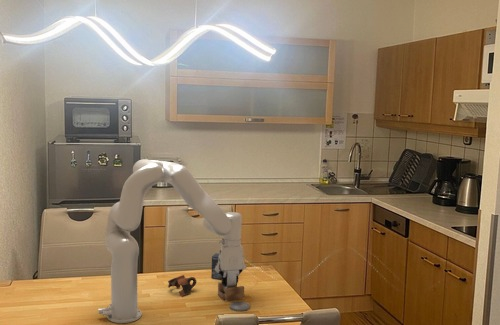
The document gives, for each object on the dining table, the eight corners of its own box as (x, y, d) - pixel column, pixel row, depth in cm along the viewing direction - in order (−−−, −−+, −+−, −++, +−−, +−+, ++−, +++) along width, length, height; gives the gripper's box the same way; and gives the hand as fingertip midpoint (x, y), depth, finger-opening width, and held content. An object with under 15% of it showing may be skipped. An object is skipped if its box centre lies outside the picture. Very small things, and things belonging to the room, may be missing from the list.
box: (211, 278, 239) (211, 256, 238) (215, 274, 245) (215, 252, 243) (227, 280, 237) (227, 258, 236) (231, 276, 242) (231, 254, 241)
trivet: (234, 312, 203) (234, 310, 203) (226, 304, 210) (226, 302, 210) (252, 309, 206) (253, 307, 206) (244, 302, 213) (245, 300, 213)
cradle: (224, 301, 213) (224, 289, 213) (216, 293, 222) (216, 282, 221) (245, 298, 217) (245, 286, 216) (237, 290, 225) (237, 279, 225)
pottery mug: (174, 299, 216) (167, 280, 217) (171, 301, 224) (164, 283, 226) (201, 288, 220) (194, 270, 222) (197, 290, 228) (190, 273, 230)
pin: (227, 293, 216) (228, 267, 214) (222, 289, 220) (224, 263, 219) (236, 292, 217) (237, 266, 216) (231, 288, 222) (232, 263, 220)
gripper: (215, 246, 209) (213, 290, 212) (253, 243, 216) (251, 286, 218) (209, 241, 216) (207, 284, 218) (246, 238, 223) (244, 280, 225)
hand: (229, 284), depth 218 cm, fingers closed on pin, 4 cm apart
